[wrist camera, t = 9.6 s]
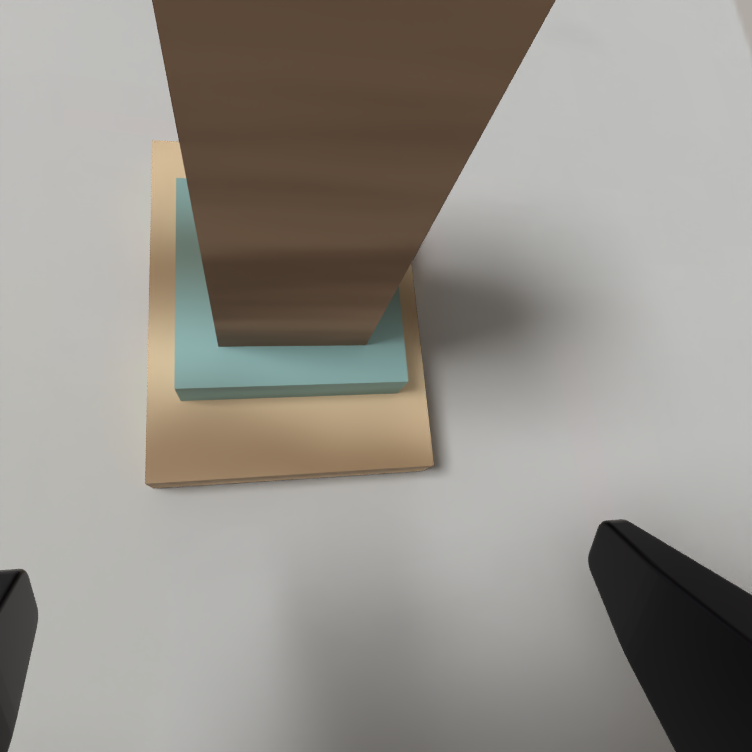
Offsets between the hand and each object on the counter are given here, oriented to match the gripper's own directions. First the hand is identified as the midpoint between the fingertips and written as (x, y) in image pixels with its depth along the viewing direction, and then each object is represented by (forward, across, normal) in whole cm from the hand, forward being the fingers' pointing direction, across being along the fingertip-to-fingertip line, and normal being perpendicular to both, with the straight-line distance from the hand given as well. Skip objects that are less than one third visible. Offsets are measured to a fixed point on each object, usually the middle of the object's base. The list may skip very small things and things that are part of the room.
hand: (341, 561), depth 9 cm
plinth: (+13, 0, +1) cm, 13 cm away
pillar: (+11, 0, -1) cm, 11 cm away
